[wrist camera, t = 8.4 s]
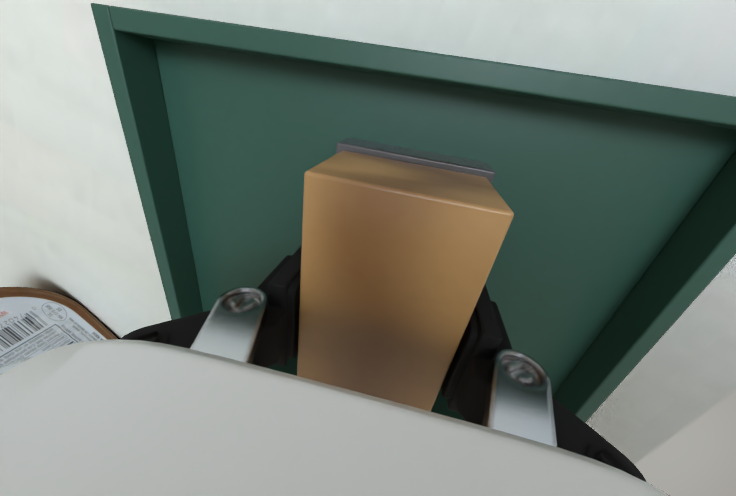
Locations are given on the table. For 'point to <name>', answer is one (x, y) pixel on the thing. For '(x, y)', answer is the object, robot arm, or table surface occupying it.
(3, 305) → the tin
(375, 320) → the eraser
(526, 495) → the robot arm
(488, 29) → the table surface
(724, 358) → the table surface
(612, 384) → the tray
